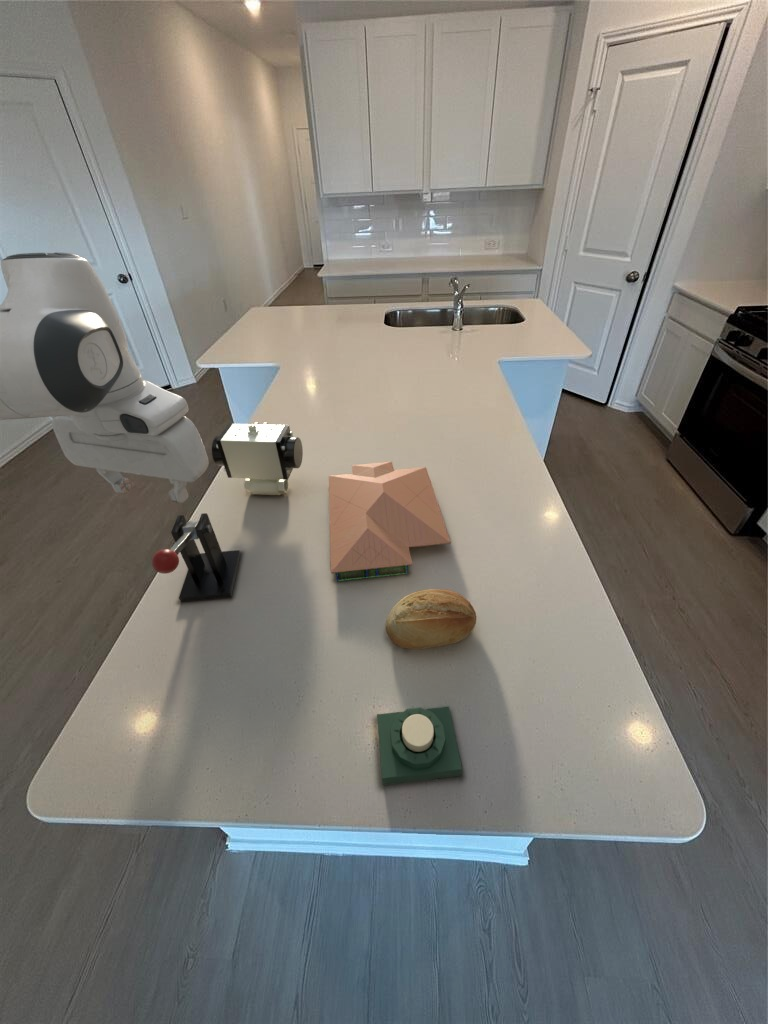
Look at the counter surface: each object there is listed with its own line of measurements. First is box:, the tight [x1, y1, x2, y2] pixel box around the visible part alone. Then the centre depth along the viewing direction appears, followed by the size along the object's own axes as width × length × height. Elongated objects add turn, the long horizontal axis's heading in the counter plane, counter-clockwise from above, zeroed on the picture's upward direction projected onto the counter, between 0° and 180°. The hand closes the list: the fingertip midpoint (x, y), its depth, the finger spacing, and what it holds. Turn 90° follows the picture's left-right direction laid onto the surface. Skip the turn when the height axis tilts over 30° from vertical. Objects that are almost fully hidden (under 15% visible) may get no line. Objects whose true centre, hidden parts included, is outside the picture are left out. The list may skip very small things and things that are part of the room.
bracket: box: [170, 513, 242, 603], centre depth 79 cm, size 11×9×14 cm
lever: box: [151, 520, 199, 575], centre depth 70 cm, size 15×4×4 cm, turn 5°
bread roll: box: [384, 588, 477, 650], centre depth 70 cm, size 10×15×8 cm, turn 100°
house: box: [328, 461, 451, 582], centre depth 92 cm, size 23×33×8 cm
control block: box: [376, 706, 463, 786], centre depth 57 cm, size 10×8×4 cm
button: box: [402, 714, 434, 752], centre depth 56 cm, size 4×4×2 cm
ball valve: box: [211, 421, 304, 496], centre depth 98 cm, size 18×8×18 cm, turn 84°
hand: (152, 495), depth 62 cm, fingers open, 8 cm apart
